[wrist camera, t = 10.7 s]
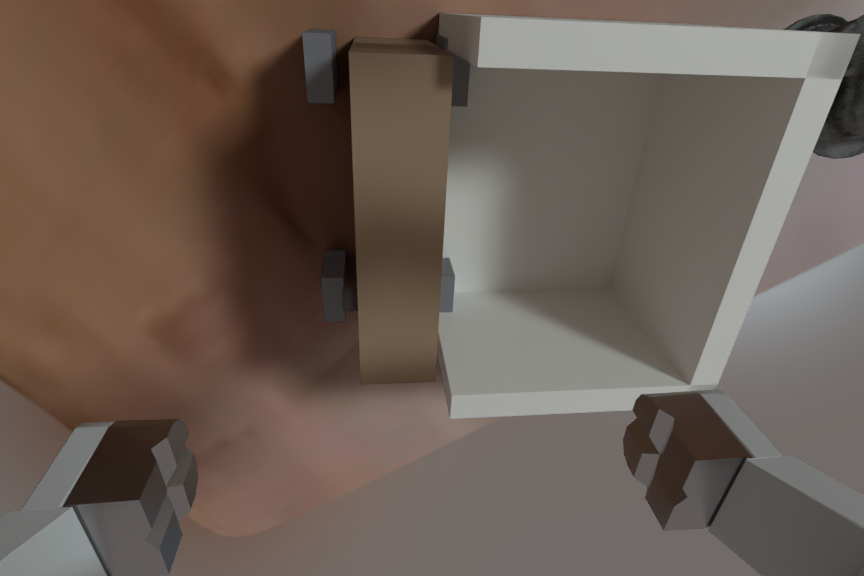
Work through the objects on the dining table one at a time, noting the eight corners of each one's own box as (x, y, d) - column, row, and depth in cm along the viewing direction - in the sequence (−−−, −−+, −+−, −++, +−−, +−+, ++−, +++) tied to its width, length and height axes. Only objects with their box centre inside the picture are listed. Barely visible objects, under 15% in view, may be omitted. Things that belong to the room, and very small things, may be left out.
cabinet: (309, 6, 20) (271, 7, 12) (687, 24, 22) (861, 33, 14) (329, 304, 27) (313, 425, 19) (617, 298, 29) (708, 406, 21)
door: (338, 36, 21) (323, 51, 14) (426, 39, 21) (453, 56, 14) (349, 286, 27) (342, 385, 20) (418, 285, 27) (435, 381, 20)
